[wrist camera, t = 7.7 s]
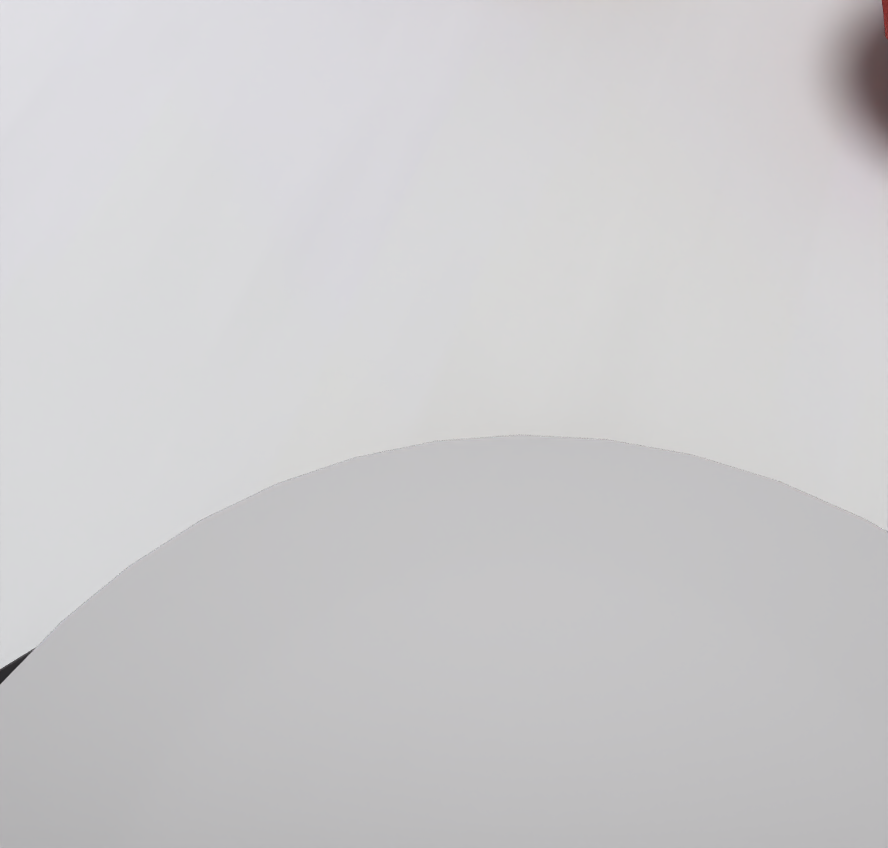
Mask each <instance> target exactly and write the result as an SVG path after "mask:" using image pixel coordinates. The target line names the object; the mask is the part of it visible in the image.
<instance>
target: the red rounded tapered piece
mask: <svg viewBox="0 0 888 848" xmlns="http://www.w3.org/2000/svg"><path fill="white" fill-rule="evenodd" d="M882 5H883V14H884V25H885V36H886V38H887V39H888V0H882Z"/></svg>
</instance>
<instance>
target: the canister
mask: <svg viewBox="0 0 888 848" xmlns="http://www.w3.org/2000/svg"><path fill="white" fill-rule="evenodd" d="M0 848H888V532H887V531H885V530H884V529H882V528H880V527H879V526H877V525H875V524H873V523H872V522H870V521H868V520H866V519H864V518H862V517H860V516H857V515H855V514H853V513H850V512H848V511H846V510H844V509H841V508H839V507H837V506H835V505H832V504H830V503H828V502H825V501H823V500H821V499H819V498H816V497H814V496H812V495H809V494H807V493H805V492H803V491H800V490H798V489H796V488H794V487H791V486H789V485H787V484H784V483H782V482H780V481H777V480H774V479H770V478H767V477H764V476H760V475H757V474H754V473H751V472H747V471H744V470H741V469H737V468H734V467H731V466H728V465H724V464H721V463H718V462H715V461H711V460H708V459H705V458H701V457H698V456H695V455H691V454H686V453H680V452H675V451H669V450H663V449H658V448H652V447H646V446H641V445H635V444H629V443H624V442H618V441H613V440H607V439H592V438H573V437H554V436H534V435H509V436H496V437H482V438H468V439H455V440H441V441H433V442H428V443H423V444H418V445H413V446H408V447H403V448H398V449H393V450H388V451H384V452H379V453H374V454H369V455H364V456H359V457H354V458H351V459H348V460H345V461H342V462H339V463H336V464H334V465H331V466H328V467H325V468H322V469H319V470H316V471H313V472H310V473H307V474H304V475H301V476H298V477H295V478H292V479H289V480H286V481H283V482H280V483H277V484H275V485H273V486H271V487H269V488H266V489H264V490H262V491H260V492H258V493H256V494H254V495H252V496H250V497H248V498H246V499H244V500H241V501H239V502H237V503H235V504H233V505H231V506H229V507H227V508H225V509H223V510H221V511H219V512H216V513H214V514H212V515H210V516H208V517H206V518H204V519H202V520H200V521H199V522H197V523H196V524H194V525H192V526H191V527H189V528H188V529H186V530H185V531H183V532H181V533H180V534H178V535H177V536H175V537H174V538H172V539H171V540H169V541H167V542H166V543H164V544H163V545H161V546H160V547H158V548H156V549H155V550H153V551H152V552H150V553H149V554H147V555H145V556H144V557H142V558H141V559H139V560H138V561H136V562H135V563H133V564H131V565H130V566H129V567H127V568H126V569H125V570H124V571H122V572H121V573H120V574H119V575H118V576H116V577H115V578H114V579H113V580H111V581H110V582H109V583H108V584H107V585H105V586H104V587H103V588H102V589H100V590H99V591H98V592H97V593H96V594H94V595H93V596H92V597H91V598H89V599H88V600H87V601H86V602H85V603H83V604H82V605H81V606H80V607H78V608H77V609H76V610H75V611H74V612H72V613H71V614H70V615H69V616H68V617H66V618H65V619H64V620H63V621H61V622H60V623H59V625H58V626H57V627H56V628H55V629H54V630H53V631H52V632H51V633H50V634H49V635H48V636H47V637H46V638H45V639H44V640H43V641H42V642H41V643H40V644H39V645H38V646H37V647H36V648H35V649H34V650H33V651H32V652H31V653H30V654H29V655H28V656H27V657H26V659H25V660H24V661H23V662H22V663H21V664H20V665H19V666H18V667H17V668H16V669H15V670H14V671H13V672H12V673H11V674H10V675H9V676H8V677H7V678H6V679H5V680H4V681H3V682H2V683H1V684H0Z"/></svg>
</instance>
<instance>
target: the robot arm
mask: <svg viewBox="0 0 888 848" xmlns="http://www.w3.org/2000/svg"><path fill="white" fill-rule="evenodd" d="M34 649H35V648H34ZM34 649H32V650H31V651H29V652H28V653H26V654H24V655H23V656H21V657H19V658H18V659H16V660H14V661H13V662H11V663H10V664H8V665H6V666H5V667H3V668H1V669H0V684H1V683H2V682H3V681H4V680H5V679H6V678H7V677H8V676H9V675H10V674H11V673H12V672H13V671H14V670H15V669H16V668H17V667H18V666H19V665H20V664H21V663H22V662H23V661H24V660H25V659H26V657H27V656H28V655H29V654H30V653H31V652H32V651H33V650H34Z"/></svg>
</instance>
